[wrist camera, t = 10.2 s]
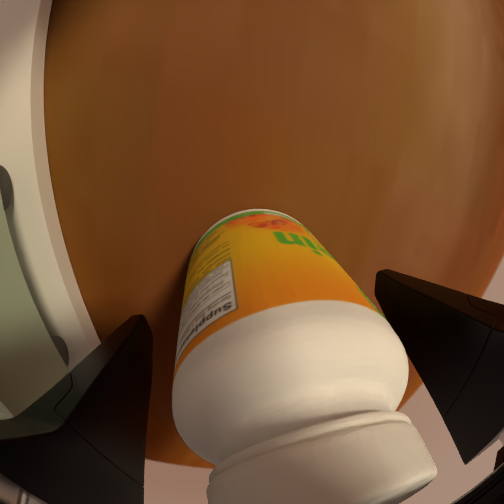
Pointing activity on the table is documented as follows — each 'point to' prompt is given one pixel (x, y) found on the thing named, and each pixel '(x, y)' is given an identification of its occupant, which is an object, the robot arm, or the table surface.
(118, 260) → the table surface
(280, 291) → the supplement bottle
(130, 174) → the table surface
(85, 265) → the table surface
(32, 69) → the board
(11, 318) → the sage green storage bin
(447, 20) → the table surface
